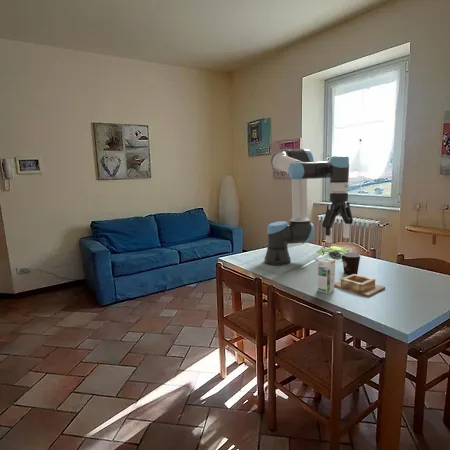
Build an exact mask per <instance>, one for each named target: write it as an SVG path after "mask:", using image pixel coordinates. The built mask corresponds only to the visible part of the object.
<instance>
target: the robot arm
mask: <svg viewBox="0 0 450 450" xmlns="http://www.w3.org/2000/svg"><path fill="white" fill-rule="evenodd" d="M270 165H271V166H272V168H273V169H275V170H277V171H283V172H285V173H287V174H288V176H289V178H290V179H291V206H292V207H291V209H292V210H291V212H292V215H291V216H292V217H291V219H289V223H288V221H284V220H283V221H282V220H281V221H275V222H272V223H268V225H267V228H266V229H267V230H266V234H267V237H266V239H267V241H266V242H267V243H266V244H267V247H266V248H267V249H266V252H265V255H264V263H265V264H268V265H271V266H286V265H289V264H290V263H291V262H292V261H291V256H290V252H289V250H288V249H289V248H288V247H289V246H288V245H289V244H290V245H292V244H293V245H294V244H305V243H306V244H307V243H310V242H312V240H313V238H314V236H315V226H314V223H312V222H311V219H310V218H309V217H308V180H310V179H311V180H312V179H314V180H315V179H329V182H330V183H329V192H330V193H329V201H330V202H331V204H327V205H326V211H325V216H324V218H323V221H322V224H321V226H322V227H323V229H324V228H325V243H326V244H333V227H332V226H333V225H334V222H335V220H336V218H337V216H338V215H340V216H341V219H342V220H343V223H342V224H343V225H342V226H343V227H342V229H343V230H342V238H344V239H350V231H351V229H350V226H351V224H353V222H354V219H353V215H352V211H351V205H350V202H349V193H348V192H349V177H350V176H349V174H350V158H349V156H348V155H335V156H334V155H333V156H331V158H330V160H329V161H327V160H326V161H314V156H313V153H312V151H311V150H310V149H308V148H290V149H289V148H285V149H284V148H283V149H279V150H277V151H275V152H274V153H273V154H272V156H271V157H270Z"/></svg>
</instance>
